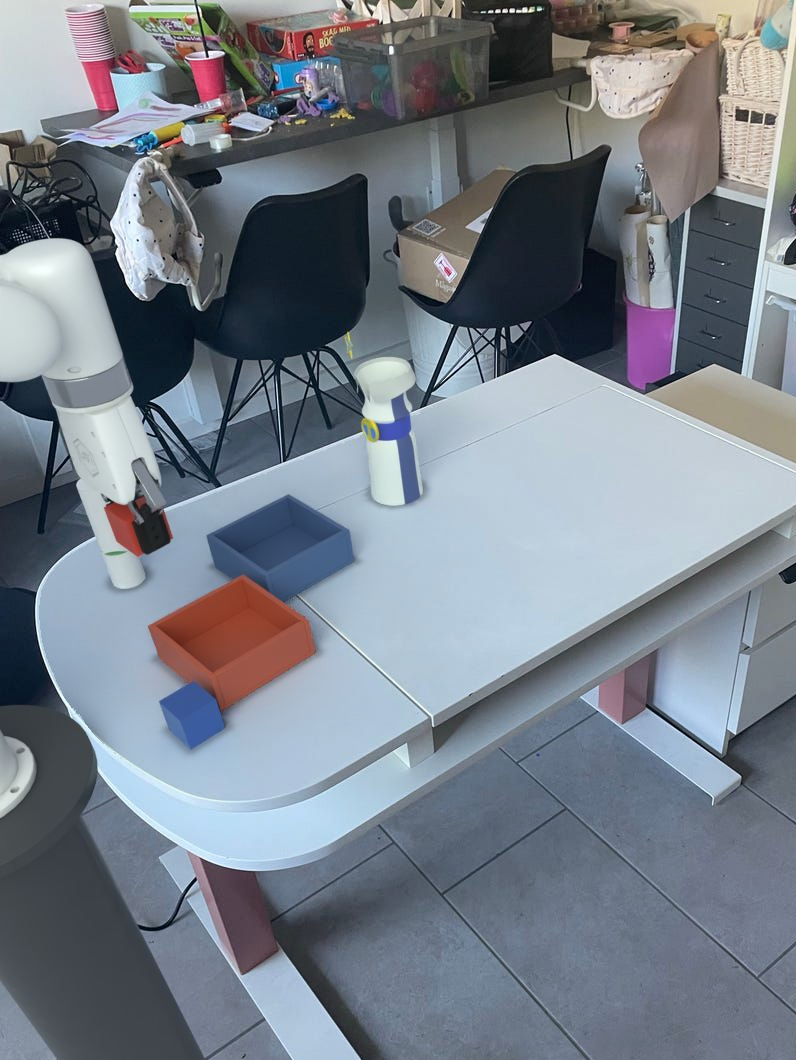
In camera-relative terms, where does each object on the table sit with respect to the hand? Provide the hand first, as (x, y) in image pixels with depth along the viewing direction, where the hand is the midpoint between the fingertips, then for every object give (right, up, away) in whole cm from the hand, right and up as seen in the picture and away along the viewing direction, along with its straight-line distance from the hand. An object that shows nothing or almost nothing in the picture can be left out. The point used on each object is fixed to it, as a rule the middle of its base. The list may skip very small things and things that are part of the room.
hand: (143, 537), depth 101 cm
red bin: (+7, -13, +12) cm, 19 cm away
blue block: (+5, -21, +3) cm, 22 cm away
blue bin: (+10, -1, +25) cm, 27 cm away
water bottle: (+24, +11, +38) cm, 46 cm away
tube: (-11, -3, +25) cm, 27 cm away
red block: (0, 0, 0) cm, 0 cm away
